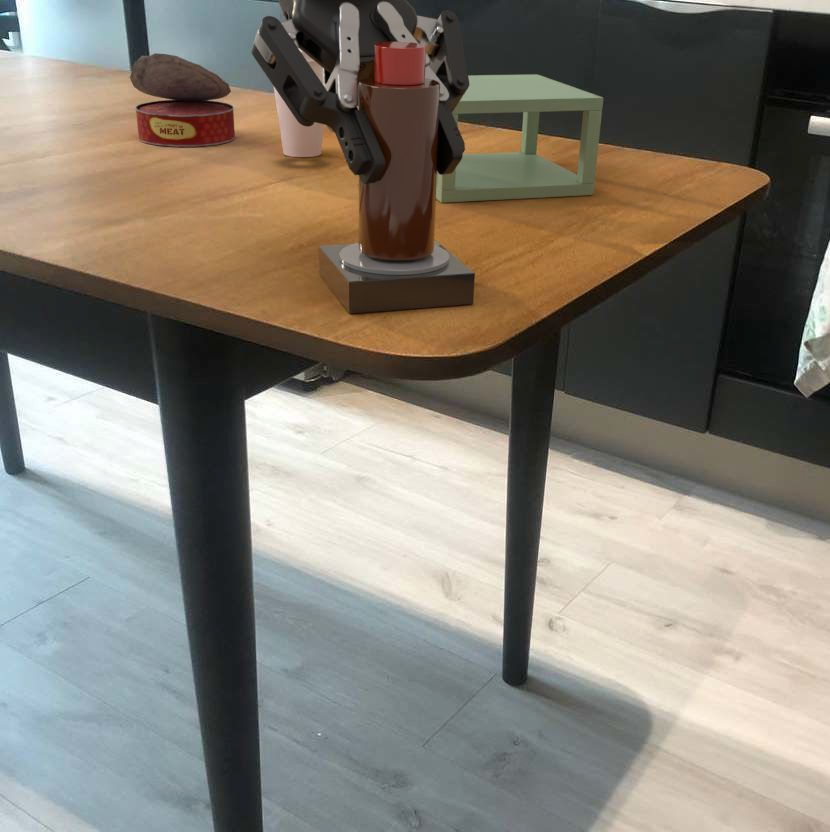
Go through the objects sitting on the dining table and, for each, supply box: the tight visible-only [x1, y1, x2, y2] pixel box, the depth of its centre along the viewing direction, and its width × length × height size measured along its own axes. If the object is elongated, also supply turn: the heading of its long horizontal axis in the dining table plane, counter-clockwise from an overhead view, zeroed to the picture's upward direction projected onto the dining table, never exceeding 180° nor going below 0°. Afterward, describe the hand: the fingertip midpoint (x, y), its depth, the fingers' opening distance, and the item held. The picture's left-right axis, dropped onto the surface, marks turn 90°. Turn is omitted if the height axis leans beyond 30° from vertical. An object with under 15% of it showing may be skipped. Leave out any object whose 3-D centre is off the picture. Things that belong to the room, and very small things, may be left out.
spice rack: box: [436, 73, 604, 204], centre depth 96 cm, size 14×14×8 cm
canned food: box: [129, 52, 236, 148], centre depth 111 cm, size 11×10×10 cm
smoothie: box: [273, 48, 325, 158], centre depth 103 cm, size 6×6×14 cm
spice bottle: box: [357, 42, 440, 261], centre depth 66 cm, size 5×5×12 cm
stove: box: [318, 239, 476, 315], centre depth 69 cm, size 8×8×2 cm
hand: (413, 170), depth 65 cm, fingers closed on spice bottle, 4 cm apart
